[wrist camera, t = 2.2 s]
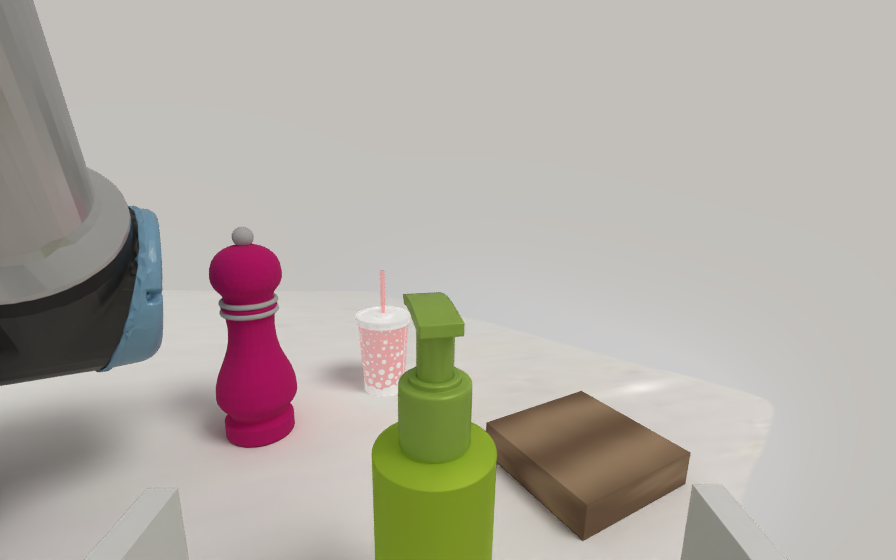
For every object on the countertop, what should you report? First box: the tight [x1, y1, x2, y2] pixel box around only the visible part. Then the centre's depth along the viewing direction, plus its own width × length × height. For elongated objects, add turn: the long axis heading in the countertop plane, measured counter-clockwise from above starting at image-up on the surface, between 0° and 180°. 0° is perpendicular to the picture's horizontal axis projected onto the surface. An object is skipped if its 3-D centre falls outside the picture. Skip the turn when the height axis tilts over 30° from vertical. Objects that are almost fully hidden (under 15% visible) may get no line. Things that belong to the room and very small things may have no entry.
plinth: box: [486, 391, 690, 541], centre depth 41 cm, size 12×12×3 cm
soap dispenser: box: [372, 292, 497, 560], centre depth 24 cm, size 6×7×20 cm
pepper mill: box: [209, 227, 297, 447], centre depth 44 cm, size 7×7×20 cm
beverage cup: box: [356, 270, 410, 397], centre depth 54 cm, size 6×6×14 cm
